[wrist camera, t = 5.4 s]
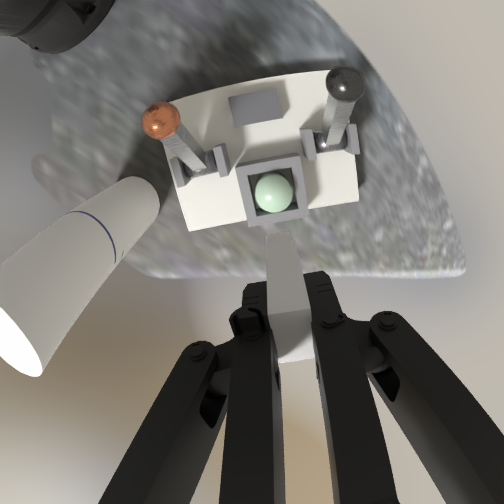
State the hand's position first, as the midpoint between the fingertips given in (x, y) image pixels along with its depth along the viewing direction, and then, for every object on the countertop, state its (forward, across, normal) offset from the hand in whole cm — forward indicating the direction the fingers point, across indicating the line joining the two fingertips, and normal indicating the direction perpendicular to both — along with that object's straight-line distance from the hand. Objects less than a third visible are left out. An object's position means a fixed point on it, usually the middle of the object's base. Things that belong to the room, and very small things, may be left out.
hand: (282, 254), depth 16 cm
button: (+15, 0, 0) cm, 15 cm away
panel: (+18, 0, +4) cm, 19 cm away
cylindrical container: (+18, -18, +1) cm, 25 cm away
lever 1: (+15, -6, +3) cm, 17 cm away
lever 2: (+15, +7, +3) cm, 17 cm away
